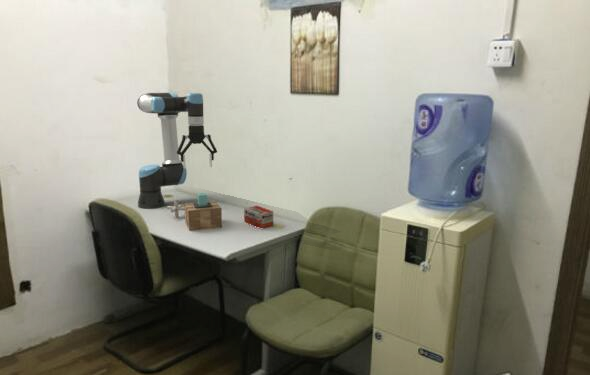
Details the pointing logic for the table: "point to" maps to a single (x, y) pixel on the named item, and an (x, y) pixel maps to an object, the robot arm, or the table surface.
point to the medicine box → (258, 216)
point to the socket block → (203, 217)
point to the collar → (202, 206)
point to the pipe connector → (176, 208)
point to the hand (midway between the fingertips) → (197, 167)
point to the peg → (202, 199)
